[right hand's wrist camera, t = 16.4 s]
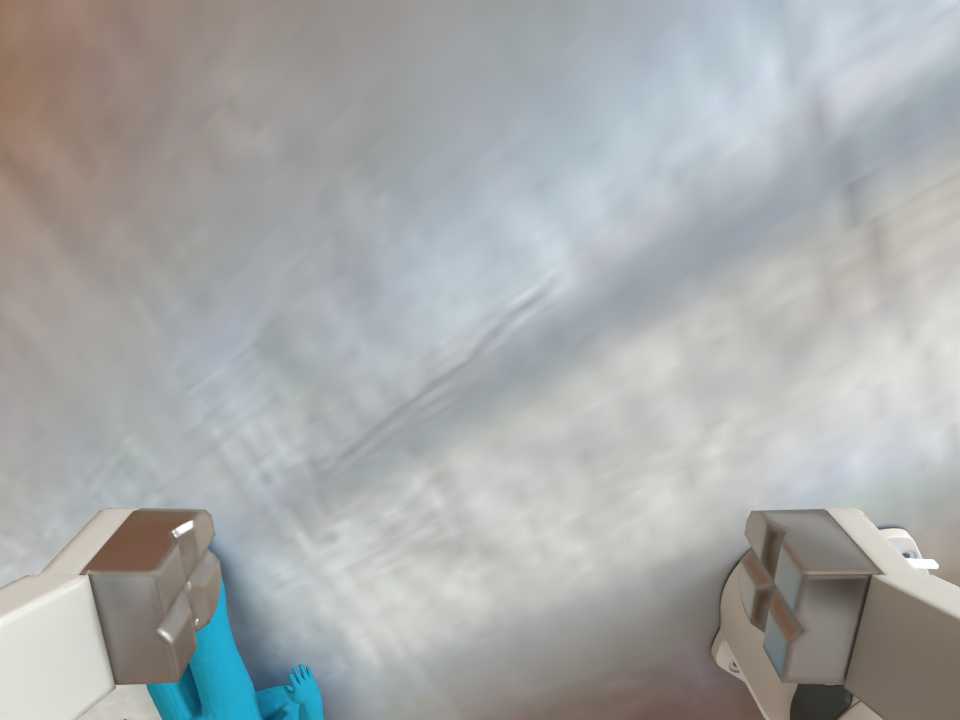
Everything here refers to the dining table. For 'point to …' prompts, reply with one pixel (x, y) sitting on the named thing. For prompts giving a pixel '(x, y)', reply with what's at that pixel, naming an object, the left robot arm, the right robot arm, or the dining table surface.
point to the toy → (232, 684)
